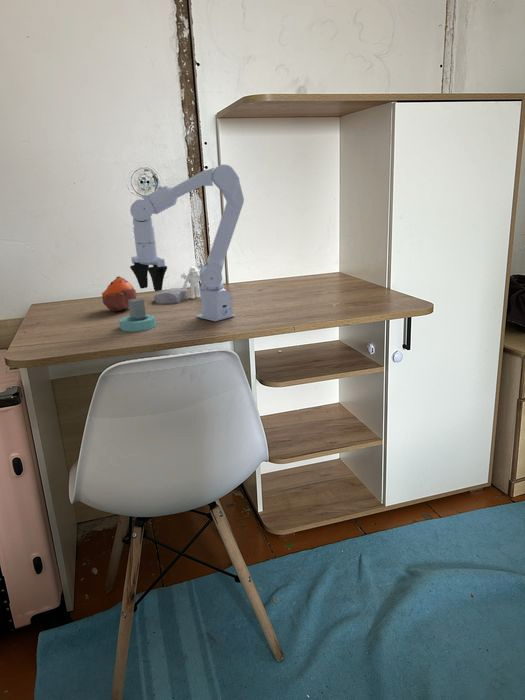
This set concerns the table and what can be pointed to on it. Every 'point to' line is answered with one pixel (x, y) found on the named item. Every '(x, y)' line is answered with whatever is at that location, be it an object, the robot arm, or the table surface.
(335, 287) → the table surface
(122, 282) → the orange rounded figure
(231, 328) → the table surface
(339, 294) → the table surface
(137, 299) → the dark metal rectangular bar
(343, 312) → the table surface
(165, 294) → the stone block
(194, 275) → the blocky character figurine
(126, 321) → the teal creased ring
